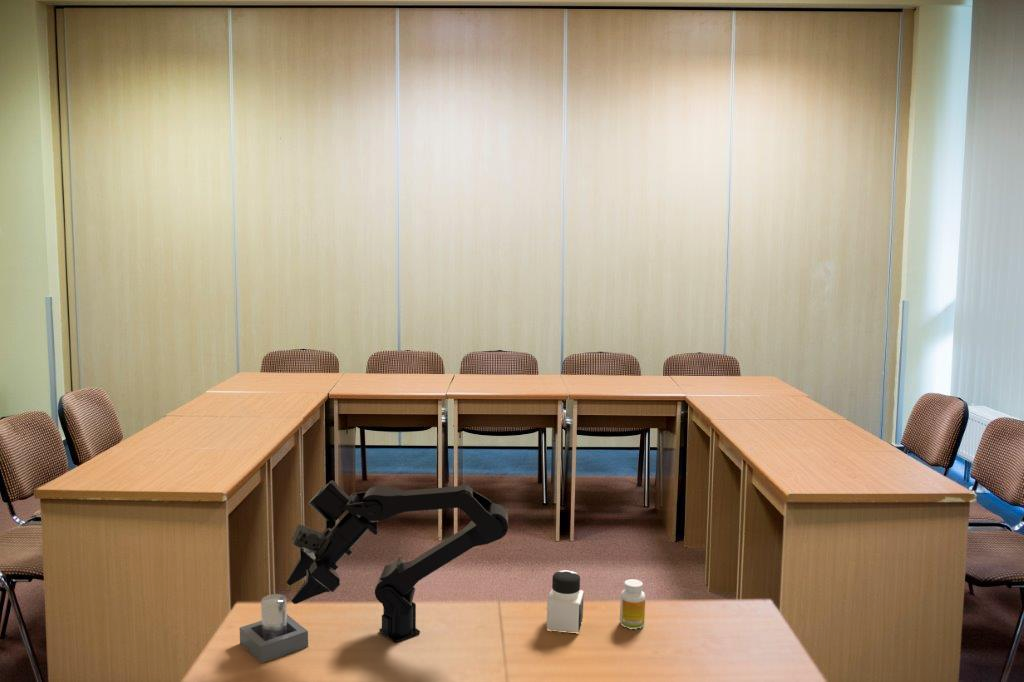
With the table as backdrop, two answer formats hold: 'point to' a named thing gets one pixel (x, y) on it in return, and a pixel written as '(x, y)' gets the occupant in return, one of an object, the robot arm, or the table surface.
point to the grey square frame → (273, 640)
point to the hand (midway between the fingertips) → (290, 593)
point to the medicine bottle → (565, 602)
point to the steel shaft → (274, 616)
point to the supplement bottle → (632, 604)
